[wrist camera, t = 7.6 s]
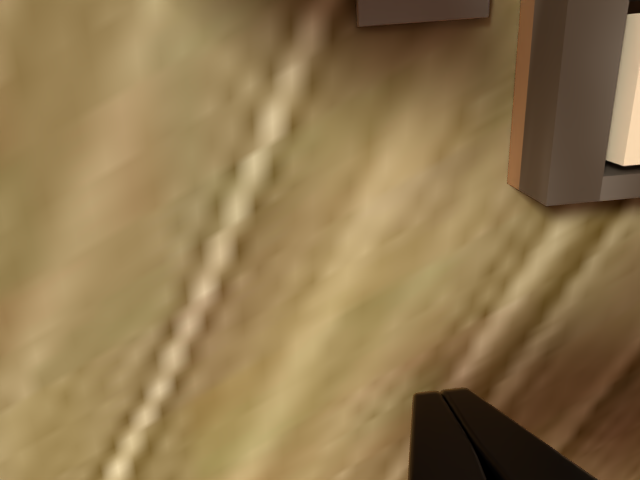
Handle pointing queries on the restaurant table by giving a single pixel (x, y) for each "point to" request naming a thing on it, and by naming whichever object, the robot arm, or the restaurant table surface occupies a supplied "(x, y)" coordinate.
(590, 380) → the restaurant table surface
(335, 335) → the restaurant table surface
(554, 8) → the keypad
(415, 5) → the tile
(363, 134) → the restaurant table surface
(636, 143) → the key ivory
